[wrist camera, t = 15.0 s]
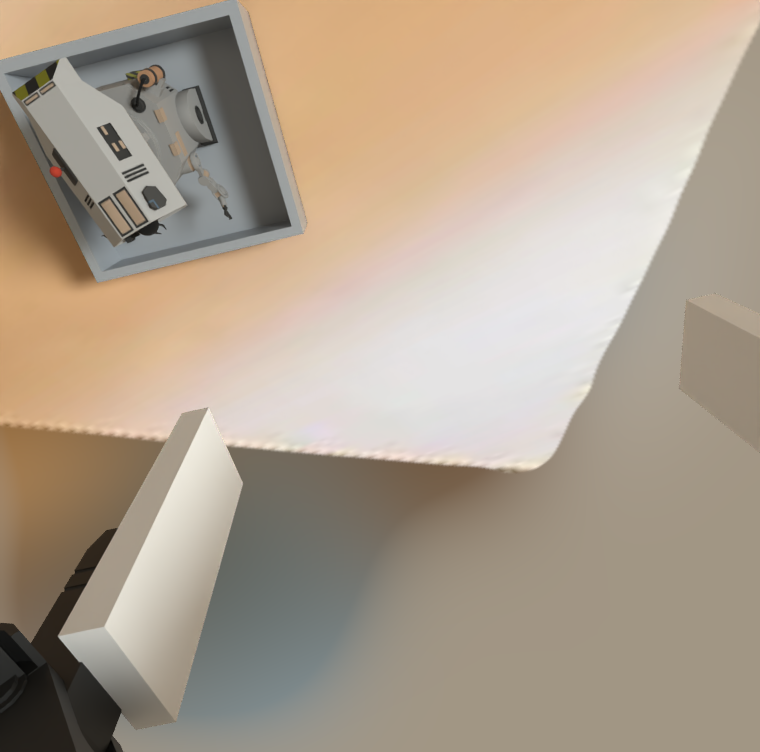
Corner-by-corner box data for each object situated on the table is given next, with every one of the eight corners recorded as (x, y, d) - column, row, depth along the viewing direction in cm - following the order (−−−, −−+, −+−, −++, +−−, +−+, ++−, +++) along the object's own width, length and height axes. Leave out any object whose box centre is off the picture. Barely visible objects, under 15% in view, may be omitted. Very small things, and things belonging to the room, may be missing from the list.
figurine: (149, 232, 45) (68, 278, 32) (88, 91, 40) (-39, 76, 27) (244, 209, 45) (202, 245, 32) (195, 63, 40) (121, 34, 26)
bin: (26, 70, 40) (-14, 63, 35) (248, 12, 39) (236, -2, 35) (120, 267, 47) (97, 282, 43) (307, 222, 47) (303, 233, 42)
